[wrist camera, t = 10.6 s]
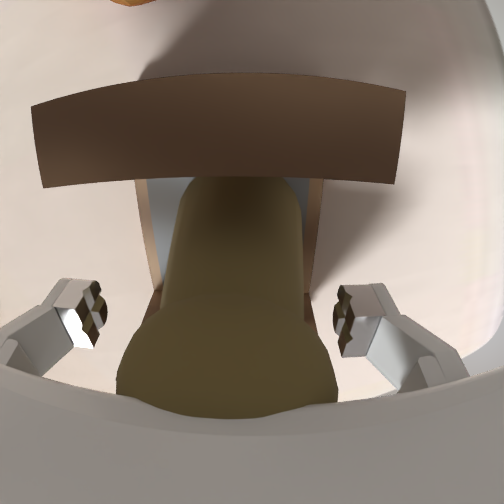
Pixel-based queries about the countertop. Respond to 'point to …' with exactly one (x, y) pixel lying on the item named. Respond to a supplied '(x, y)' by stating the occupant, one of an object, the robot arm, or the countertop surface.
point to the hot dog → (132, 2)
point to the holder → (220, 143)
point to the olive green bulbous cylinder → (231, 310)
